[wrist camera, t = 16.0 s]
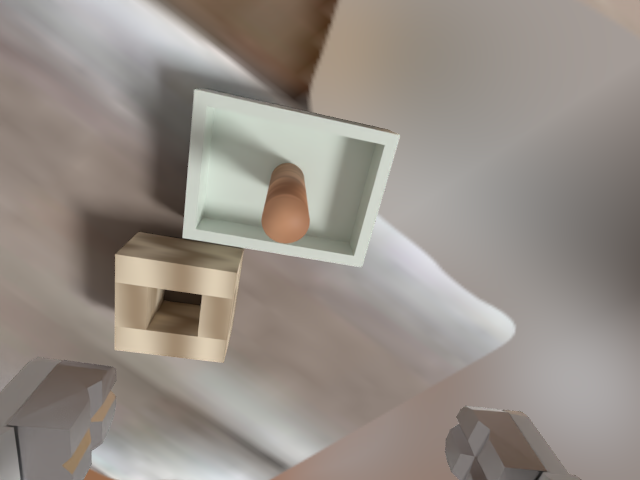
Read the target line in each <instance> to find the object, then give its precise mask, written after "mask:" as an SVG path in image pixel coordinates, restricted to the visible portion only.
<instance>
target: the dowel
mask: <svg viewBox="0 0 640 480" xmlns="http://www.w3.org/2000/svg"><path fill="white" fill-rule="evenodd" d="M261 222H262V227H263V230H264V232H265V233H266V234H267V236H268V237H269V238H271V239H272V240H274V241H276V242H279V243H293V242H296V241H298V240H300V239H301V238H302V237H303V236H304V235H305V234H306V232H307V231H308V228H309V224H310V218H309V210H308V203H307V195H306V187H305V180H304V174H303V172H302V170H301V169H300V168H299V167H298V166H296V165H294V164H292V163H283V164H280V165H278V166H277V167H276V168H275V169H274V170H273V172H272V175H271V179H270V183H269V188H268V192H267V196H266V201H265V205H264V209H263V214H262V219H261Z"/></svg>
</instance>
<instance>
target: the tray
mask: <svg viewBox="0 0 640 480" xmlns="http://www.w3.org/2000/svg"><path fill="white" fill-rule="evenodd" d="M399 138H400V135H399V134H397V133H394V132H392V131H390V130H388V129H383V128H379V127H374V126H370V125H365V124H361V123H357V122H352V121H348V120H343V119H339V118H334V117H330V116H325V115H321V114H317V113H312V112H308V111H303V110H299V109H294V108H290V107H285V106H281V105H277V104H272V103H268V102H263V101H259V100H254V99H250V98H245V97H241V96H237V95H232V94H228V93H223V92H219V91H214V90H210V89H194V99H193V111H192V124H191V136H190V149H189V161H188V174H187V186H186V199H185V211H184V224H183V236H182V238H186V239H192V240H198V241H205V242H211V243H217V244H223V245H229V246H235V247H241V248H247V249H253V250H259V251H265V252H271V253H277V254H283V255H290V256H296V257H302V258H308V259H314V260H320V261H326V262H332V263H338V264H344V265H350V266H356V267H362V265H363V262H364V259H365V255H366V252H367V248H368V245H369V241H370V238H371V234H372V231H373V228H374V224H375V221H376V217H377V214H378V210H379V207H380V203H381V200H382V196H383V193H384V189H385V186H386V183H387V179H388V176H389V172H390V169H391V165H392V162H393V159H394V155H395V151H396V148H397V145H398V141H399ZM283 163H292V164H294V165H296V166H298V167H299V168H300V169H301V170H302V172H303V174H304V180H305V187H306V195H307V203H308V210H309V218H310V224H309V228H308V231H307V232H306V234H305V235H304V236H303V237H302V238H301V239H300V240H298V241H296V242H293V243H279V242H276V241H274V240H272V239H271V238H269V237H268V236H267V234H266V233H265V232H264V230H263V227H262V222H261V219H262V214H263V209H264V205H265V201H266V196H267V192H268V188H269V183H270V179H271V175H272V172H273V170H274V169H275V168H276V167H277V166H278V165H280V164H283Z"/></svg>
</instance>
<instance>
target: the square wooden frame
mask: <svg viewBox="0 0 640 480" xmlns="http://www.w3.org/2000/svg"><path fill="white" fill-rule="evenodd" d="M243 251H244V249H240V248H234V247H228V246H222V245H216V244H210V243H203V242H197V241H191V240H185V239H179V238H173V237H167V236H161V235H155V234H149V233H143V232H138V233H137V234H136V235H135V236H134V237H133V238H132V239H131V240H129V241H128V242H127V243H126V244H125V245H124V246H123V247H122V248H121V249H120V250H119V251H118V252H117V253H116V254H115V350H119V351H128V352H136V353H145V354H153V355H162V356H170V357H179V358H187V359H196V360H204V361H213V362H221V363H224V359H225V355H226V351H227V347H228V343H229V339H230V335H231V331H232V324H233V318H234V311H235V305H236V298H237V291H238V285H239V278H240V271H241V265H242V258H243ZM164 289H165V290H172V291H179V292H186V293H193V294H200V295H202V301H201V306H200V305H193V304H186V303H179V302H171V301H164Z"/></svg>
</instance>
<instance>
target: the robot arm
mask: <svg viewBox="0 0 640 480" xmlns="http://www.w3.org/2000/svg"><path fill="white" fill-rule="evenodd" d="M115 382H116V368H114V367H111V366H104V365H97V364H89V363H82V362H75V361H67V360H56V359H49V358H42V357H37V358H35V359H33V360H31V361H29V362H28V363H27V364H26V365H25V366H24V367H23V368H22V370H21V371H20V372H19V373H18V374H17V375H16V376H15V377H14V378H13V379H12V380H11V381H10V382H9V383H8V384H7V385H6V386H5V388H4V389H3V390H2V391H1V392H0V480H83V479H84V477H85V475H86V474H87V472H88V470H89V468H90V466H91V464H92V461H91V451H92V450H94V449H95V448H97V447H98V446H99V445H101V444H102V443H103V441H104V439H105V437H106V435H107V433H108V431H109V429H110V426H111V423H112V420H113V417H114V413H115V407H116V395H115V394H114V393H113V392H112V391H111V389H112V387H113V386H114V384H115ZM457 419H458V422H459V424H458V425H457V426H455V427H454V428H452V429H451V430H450V432H449V434H448V436H447V438H446V448H445V450H446V451H445V453H446V457H447V462H448V465H449V467H450V470H451V472H452V473H453V474H454V475H455V476H456V477H457V478H458V479H459V480H581V479H580V478H579V477H577V476H576V475H571V474H569V473H568V472H567V470H566V469H565V468H564V466H563V465H562V463H561V462H560V460H559V459H558V458H557V456H556V455H555V453H554V452H553V451H552V449H551V448H550V446H549V445H548V444H547V442H546V441H545V439H544V438H543V437H542V436H541V434H540V433H539V431H538V430H537V428H536V427H535V426H534V424H533V423H532V422H531V420H530V419H529V417H528V416H527V415H525V414H524V413H523V412H519V411H510V410H499V409H490V408H480V407H470V406H465V407H463V408H462V409H461V410H460V411H459V413H458V415H457Z"/></svg>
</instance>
